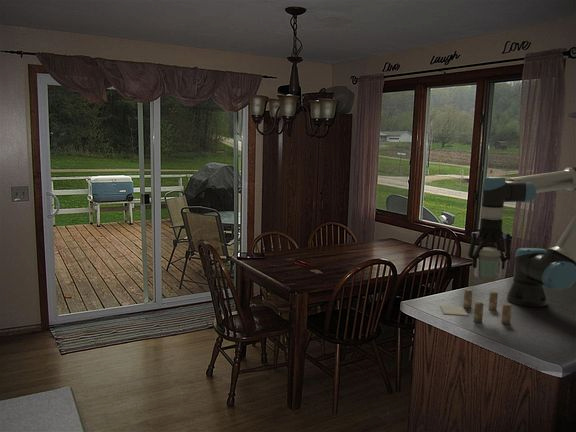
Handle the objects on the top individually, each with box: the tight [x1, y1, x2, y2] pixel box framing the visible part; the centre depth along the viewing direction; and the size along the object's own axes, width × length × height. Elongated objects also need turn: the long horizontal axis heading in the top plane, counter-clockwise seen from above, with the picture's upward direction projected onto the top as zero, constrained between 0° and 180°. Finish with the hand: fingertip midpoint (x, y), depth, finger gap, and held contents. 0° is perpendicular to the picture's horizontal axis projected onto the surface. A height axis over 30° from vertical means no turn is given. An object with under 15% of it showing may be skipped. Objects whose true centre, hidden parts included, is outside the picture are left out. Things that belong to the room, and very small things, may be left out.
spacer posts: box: [462, 288, 512, 325], centre depth 186 cm, size 14×20×7 cm
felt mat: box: [439, 305, 469, 317], centre depth 190 cm, size 9×9×1 cm
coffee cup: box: [478, 246, 501, 283], centre depth 184 cm, size 9×8×12 cm
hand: (487, 276), depth 184 cm, fingers closed on coffee cup, 8 cm apart
